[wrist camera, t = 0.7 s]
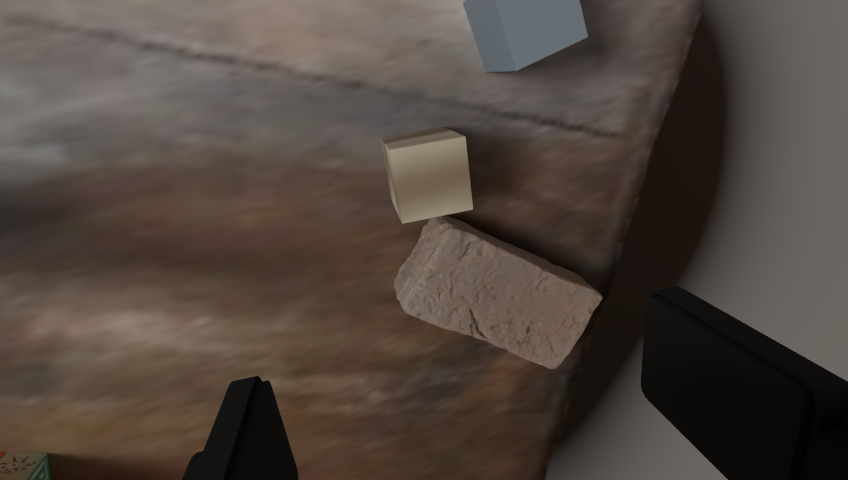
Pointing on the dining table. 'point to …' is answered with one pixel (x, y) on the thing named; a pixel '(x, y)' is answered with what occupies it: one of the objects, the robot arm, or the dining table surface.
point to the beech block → (428, 173)
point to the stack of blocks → (24, 466)
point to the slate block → (523, 30)
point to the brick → (494, 292)
